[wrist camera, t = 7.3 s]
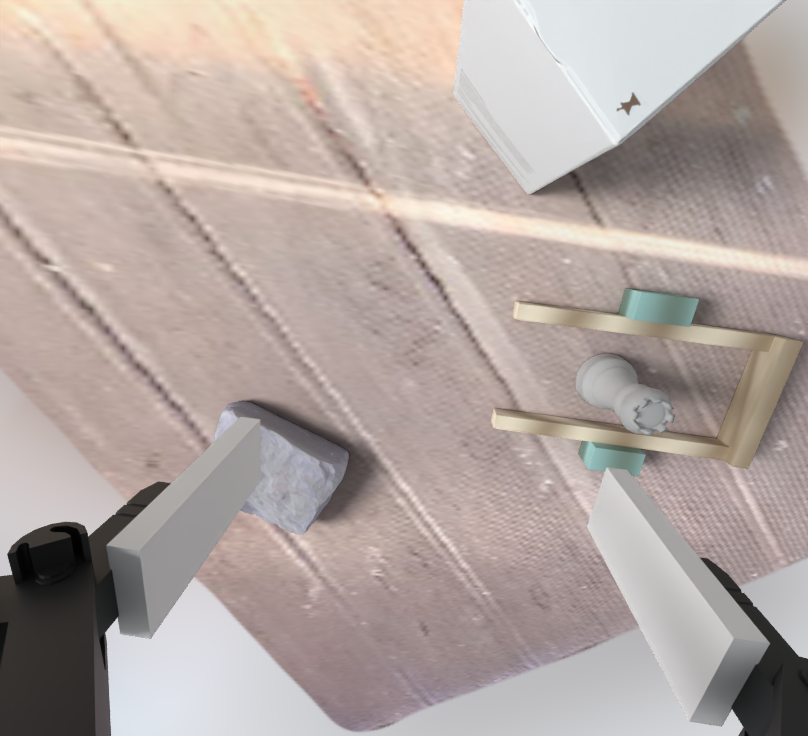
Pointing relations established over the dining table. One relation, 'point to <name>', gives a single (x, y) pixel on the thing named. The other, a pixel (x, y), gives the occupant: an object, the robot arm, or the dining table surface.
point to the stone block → (289, 469)
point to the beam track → (673, 322)
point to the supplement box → (584, 71)
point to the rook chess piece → (623, 394)
